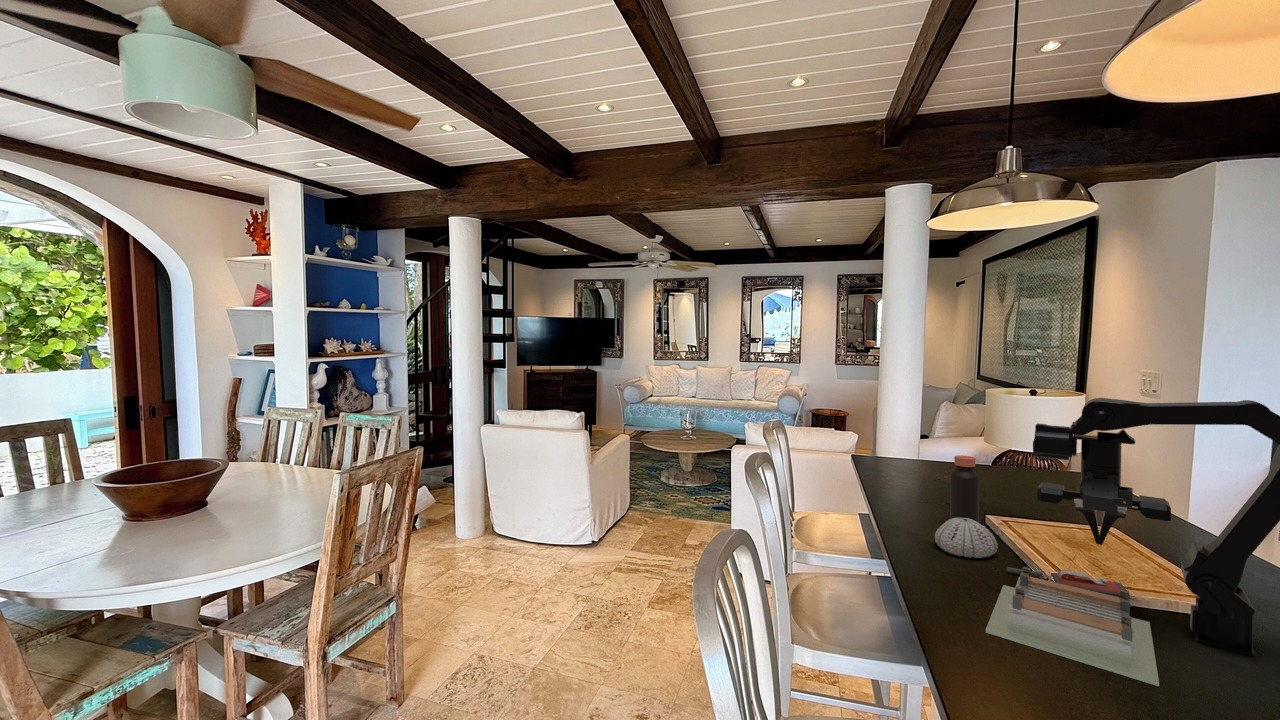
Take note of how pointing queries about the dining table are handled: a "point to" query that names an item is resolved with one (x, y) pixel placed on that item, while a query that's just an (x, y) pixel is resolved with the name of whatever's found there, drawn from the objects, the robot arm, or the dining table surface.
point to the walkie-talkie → (1080, 581)
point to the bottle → (964, 489)
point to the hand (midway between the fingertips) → (1099, 544)
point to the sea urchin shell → (965, 538)
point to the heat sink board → (1076, 630)
